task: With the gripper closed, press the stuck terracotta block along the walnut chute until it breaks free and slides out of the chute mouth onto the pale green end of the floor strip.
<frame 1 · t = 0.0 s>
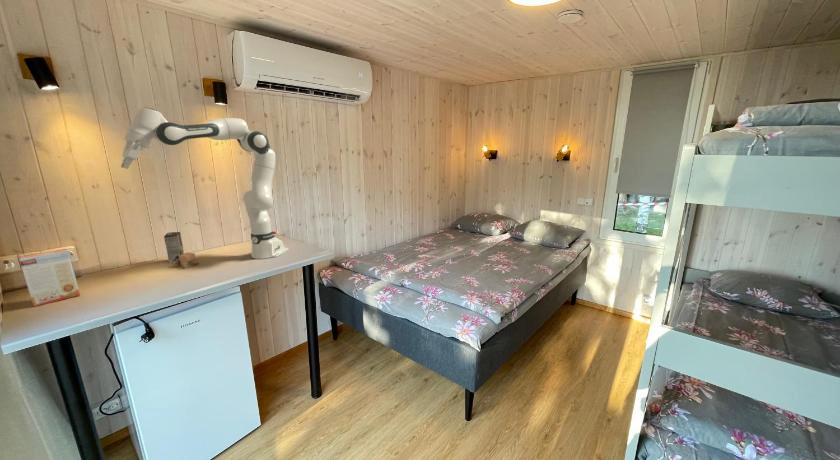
hand: (124, 168, 154), 54 cm above the table, tool tilted 30°, fingers open, 8 cm apart
cracker box: (57, 299, 147), on the table
chute: (182, 268, 184), on the table
block: (187, 259, 187), point 4 cm above the table, slide at 0.0 cm
coffee box: (177, 261, 197), on the table
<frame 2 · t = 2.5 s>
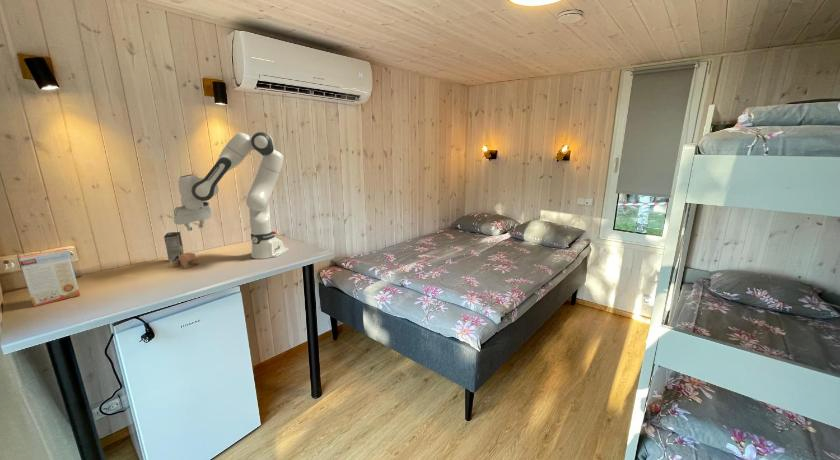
hand: (195, 229, 190), 19 cm above the table, tool pointing down, fingers open, 5 cm apart
nothing on the table moved.
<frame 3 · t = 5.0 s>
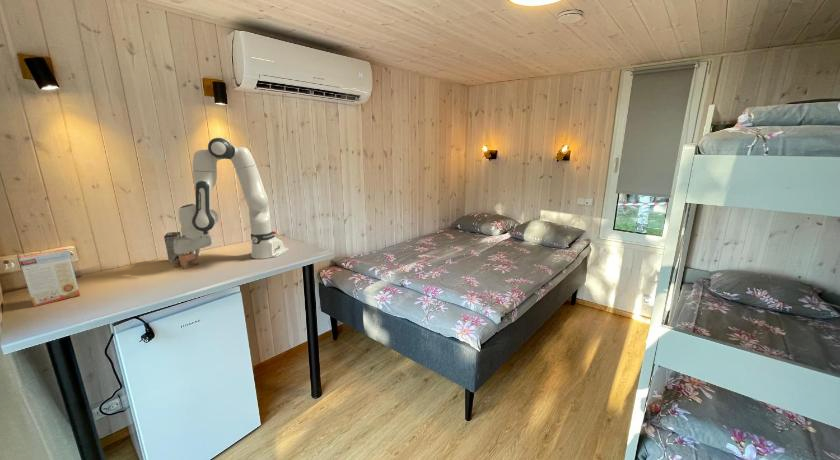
hand: (195, 257, 191), 3 cm above the table, tool pointing down, fingers closed
block: (187, 259, 187), point 4 cm above the table, slide at 0.2 cm, touching gripper
everything else where it was.
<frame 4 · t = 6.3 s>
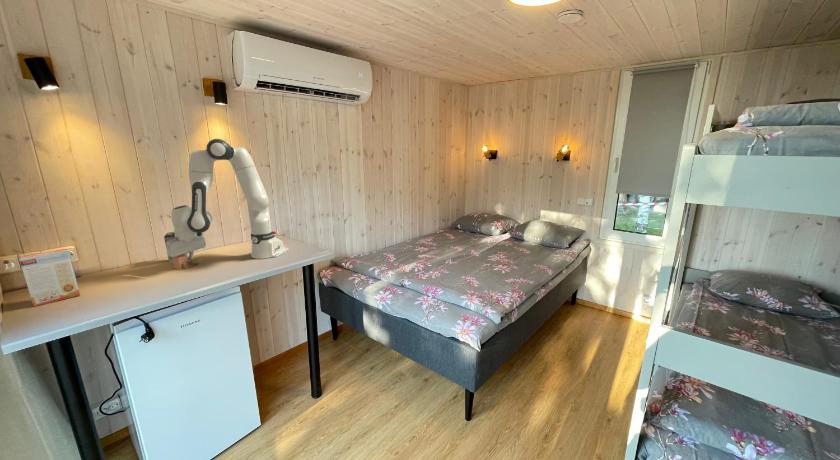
hand: (189, 259, 188), 3 cm above the table, tool pointing down, fingers closed
block: (180, 262, 183), point 4 cm above the table, slide at 4.2 cm, touching gripper
everything else where it was.
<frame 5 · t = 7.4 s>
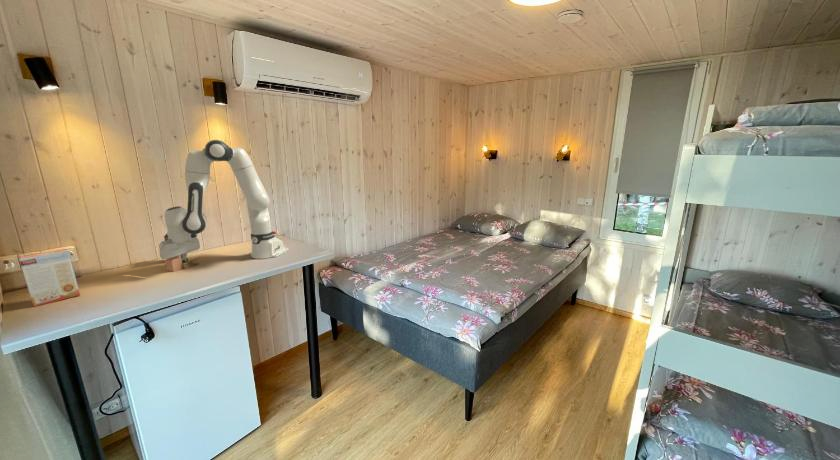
hand: (182, 262, 184), 3 cm above the table, tool pointing down, fingers closed
block: (173, 264, 179), point 4 cm above the table, slide at 7.9 cm, touching gripper
everything else where it was.
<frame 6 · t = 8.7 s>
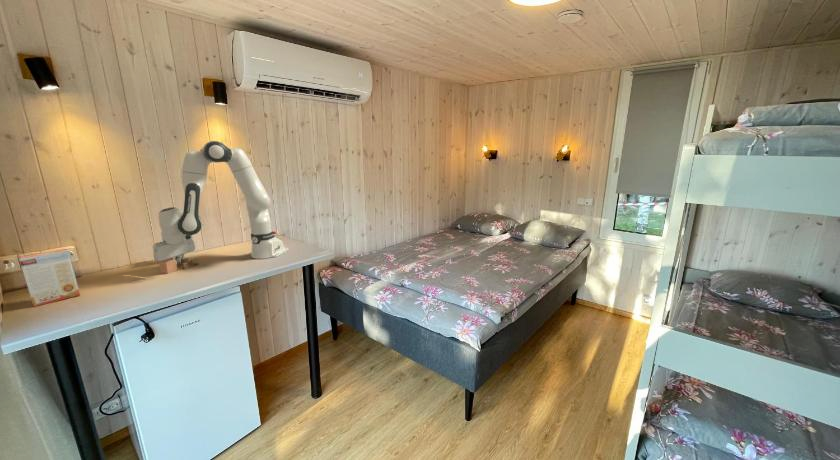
hand: (177, 263, 181), 3 cm above the table, tool pointing down, fingers closed
block: (168, 266, 177), point 4 cm above the table, slide at 11.0 cm, touching gripper
everything else where it was.
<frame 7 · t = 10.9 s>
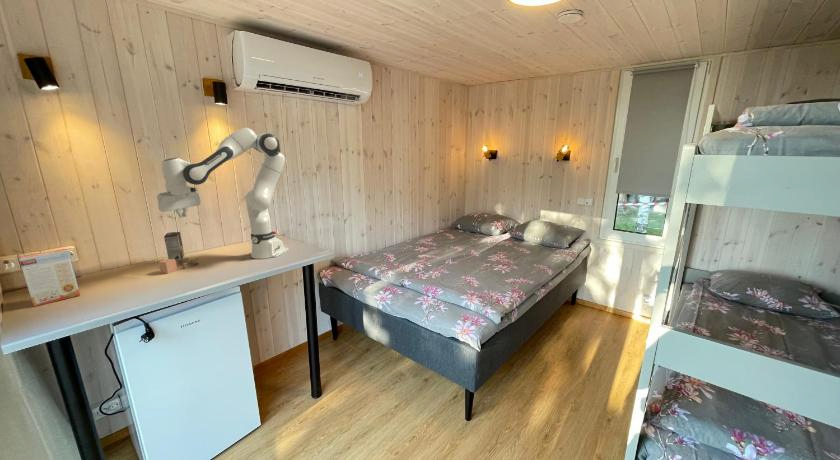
hand: (182, 217, 177), 28 cm above the table, tool pointing down, fingers closed
block: (168, 266, 177), point 4 cm above the table, slide at 11.0 cm
everything else where it was.
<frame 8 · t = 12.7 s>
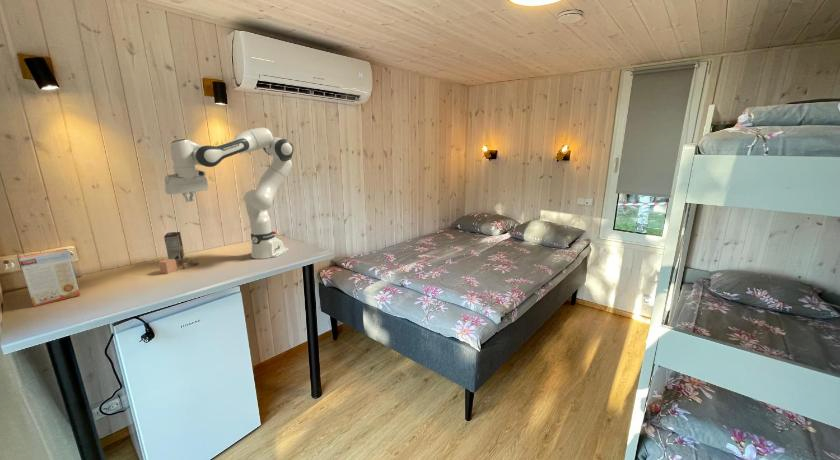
hand: (189, 201, 170), 37 cm above the table, tool pointing down, fingers closed
nothing on the table moved.
at the end: block slide at 11.0 cm; block 1.0 cm from the target spot, point 3.6 cm above the table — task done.
